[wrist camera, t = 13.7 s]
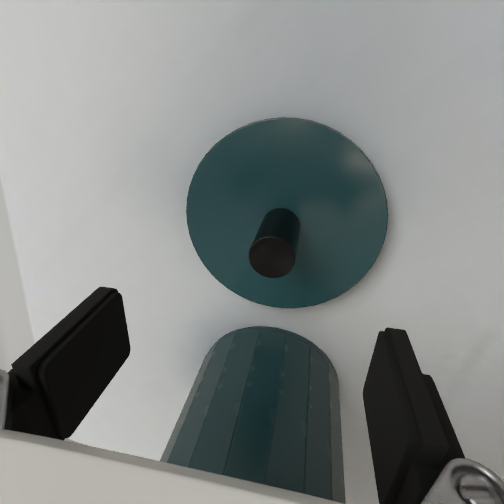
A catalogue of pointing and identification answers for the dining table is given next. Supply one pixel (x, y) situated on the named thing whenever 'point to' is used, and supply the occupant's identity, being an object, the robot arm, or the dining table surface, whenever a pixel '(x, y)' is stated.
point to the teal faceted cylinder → (264, 414)
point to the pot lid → (287, 212)
